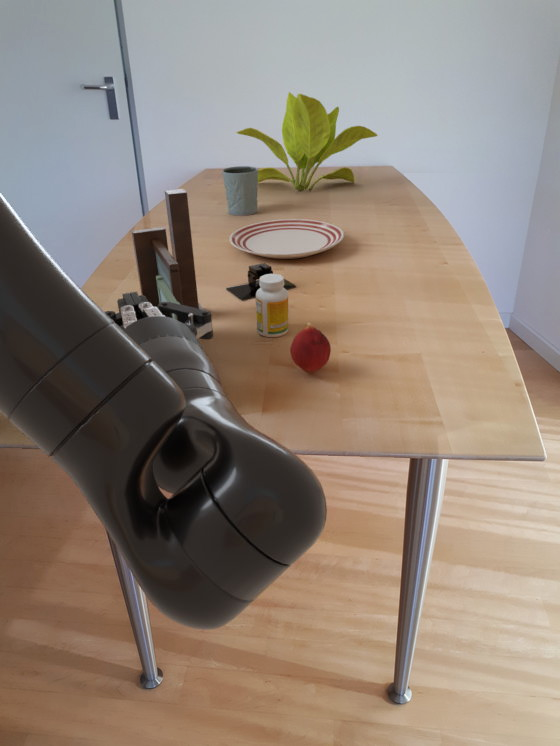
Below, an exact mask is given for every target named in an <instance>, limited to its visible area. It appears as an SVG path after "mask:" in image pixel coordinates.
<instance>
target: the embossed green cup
mask: <svg viewBox="0 0 560 746" xmlns="http://www.w3.org/2000/svg"><path fill="white" fill-rule="evenodd" d="M258 170H259V169H258V168H257V167H256V166H250V165H249V166H248V165H239V166H230V167H226V168H224V169H222V171H221V173H222V179H223V185H224V188H225V197H226V201H227V202H226V203H227V204H226V205H227V212H228V214H230V215H232V216H241V217H243V216H251V215H255V214H256V213H258V183H259V182H258Z"/></svg>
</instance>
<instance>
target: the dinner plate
mask: <svg viewBox="0 0 560 746" xmlns="http://www.w3.org/2000/svg"><path fill="white" fill-rule="evenodd" d="M344 238H345V232H344V231H343V229H342V228H340V227H339V226H337V225H335V224H332V223H328V222H327V221H322V220H314V219H305V218H284V219H282V218H281V219H272V220H265V221H260V222H259V221H258V222H255V223H251V224H248V225H245V226H242V227H239V228H238V229H237V230H234V231H233V232H232V233H231V234H230V235H229V243H230V244H231V246H233V247H234V248H236V249H238V250H240V251H241V252H242V251H243V252H245V253H248V254H251V255H256V256H259V257H261V258H267V259H277V260H292V259H301V258H307V257H310V256H314V255H316V254H319V253H322V252H325V251H328V250H330V249H332V248H334V247H336V246H337V245H338V244H339V243H341V242H342V241H343V239H344Z"/></svg>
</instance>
